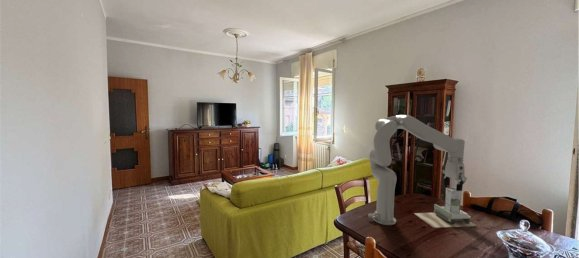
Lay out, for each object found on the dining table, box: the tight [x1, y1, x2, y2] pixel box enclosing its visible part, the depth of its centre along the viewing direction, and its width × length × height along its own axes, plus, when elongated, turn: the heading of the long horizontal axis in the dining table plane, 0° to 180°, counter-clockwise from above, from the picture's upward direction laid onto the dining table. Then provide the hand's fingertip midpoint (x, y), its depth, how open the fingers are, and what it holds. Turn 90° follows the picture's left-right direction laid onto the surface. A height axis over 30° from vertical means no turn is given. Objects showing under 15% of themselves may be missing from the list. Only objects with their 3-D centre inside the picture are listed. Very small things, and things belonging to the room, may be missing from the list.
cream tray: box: [413, 211, 477, 229], centre depth 143 cm, size 26×18×1 cm
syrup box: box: [443, 187, 462, 214], centre depth 142 cm, size 6×6×14 cm
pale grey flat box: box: [433, 203, 472, 224], centre depth 143 cm, size 13×14×6 cm
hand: (452, 187), depth 142 cm, fingers open, 9 cm apart
